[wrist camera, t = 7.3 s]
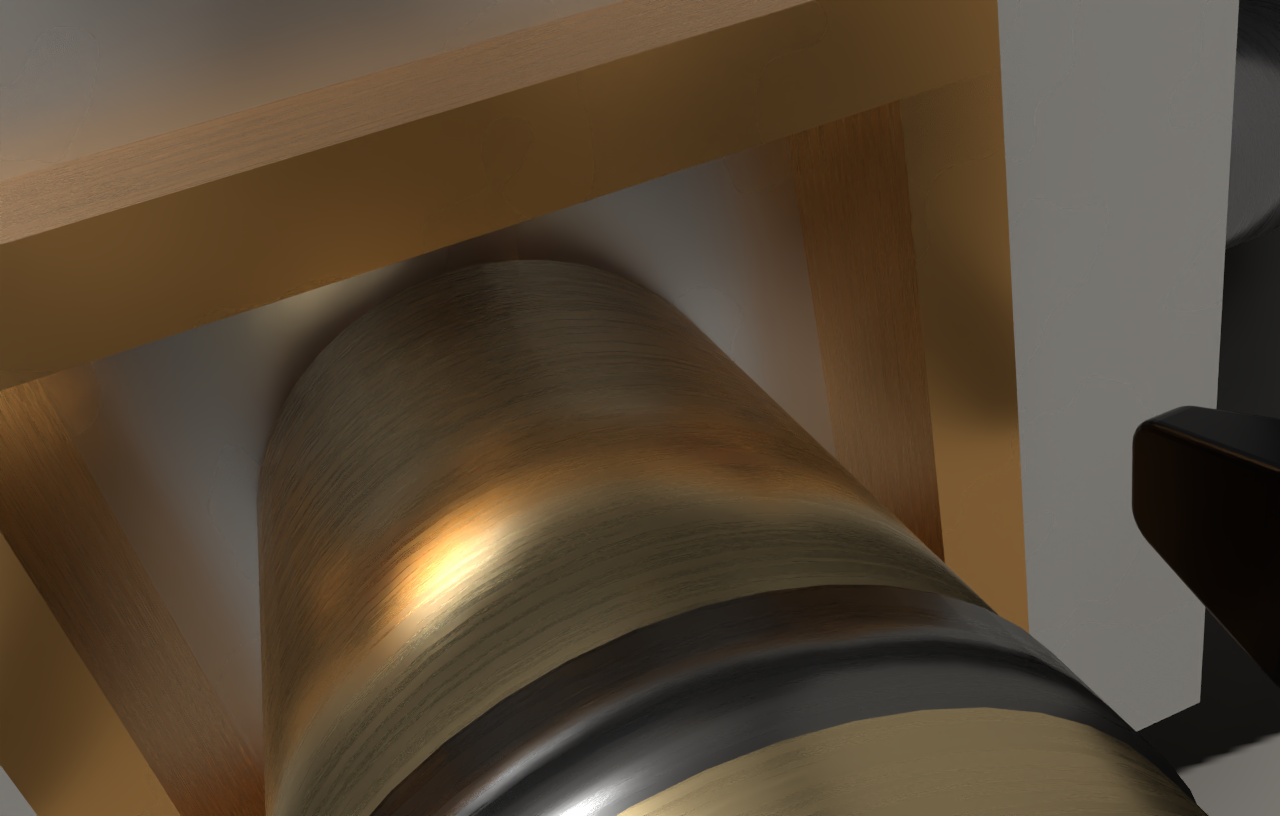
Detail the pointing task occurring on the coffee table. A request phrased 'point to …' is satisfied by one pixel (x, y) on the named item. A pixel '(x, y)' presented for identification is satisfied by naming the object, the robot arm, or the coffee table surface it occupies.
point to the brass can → (625, 591)
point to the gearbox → (608, 240)
